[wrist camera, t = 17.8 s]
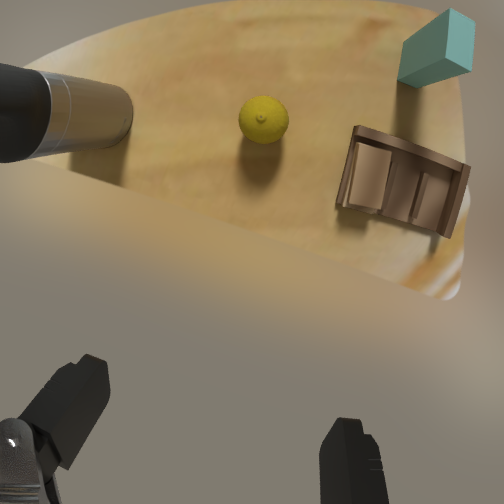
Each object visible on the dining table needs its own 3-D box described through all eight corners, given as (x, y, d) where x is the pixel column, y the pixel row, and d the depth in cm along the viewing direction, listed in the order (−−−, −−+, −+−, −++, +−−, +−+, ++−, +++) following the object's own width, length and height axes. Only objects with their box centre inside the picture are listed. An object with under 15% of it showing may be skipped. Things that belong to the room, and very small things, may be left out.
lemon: (297, 128, 37) (299, 125, 29) (259, 151, 38) (252, 154, 31) (272, 92, 36) (269, 80, 28) (235, 115, 37) (222, 110, 30)
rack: (335, 201, 39) (340, 206, 36) (354, 126, 36) (360, 124, 33) (439, 231, 39) (450, 238, 36) (458, 164, 35) (471, 166, 32)
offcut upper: (346, 200, 37) (349, 203, 35) (356, 143, 34) (359, 143, 33) (377, 206, 37) (380, 209, 35) (388, 151, 34) (391, 151, 33)
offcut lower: (340, 203, 38) (342, 206, 37) (356, 142, 36) (358, 142, 34) (369, 211, 38) (372, 214, 37) (385, 151, 36) (389, 152, 34)
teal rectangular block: (396, 80, 33) (445, 57, 20) (403, 42, 31) (449, 7, 18) (417, 88, 33) (471, 71, 20) (423, 50, 31) (475, 21, 18)
